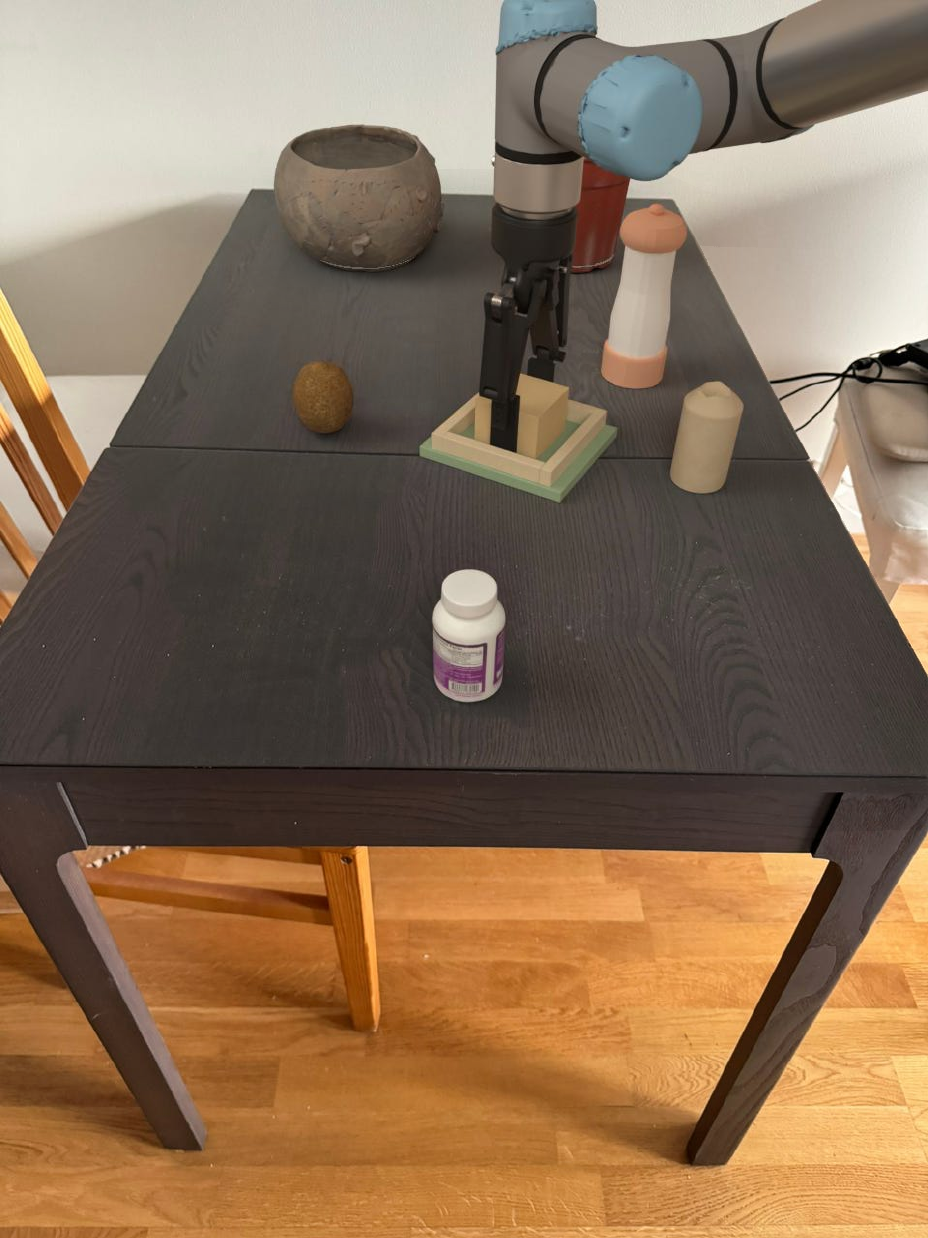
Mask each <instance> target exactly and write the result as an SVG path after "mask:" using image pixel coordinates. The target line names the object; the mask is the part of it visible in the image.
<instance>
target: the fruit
mask: <svg viewBox="0 0 928 1238" xmlns="http://www.w3.org/2000/svg"><path fill="white" fill-rule="evenodd" d="M350 382H351V381H350V379H349V377H348V375H347V374H346V372H345V370H344V369H342V368H341V367H340V366H339V365H337V363H335V362H332V361H327V360H317V361H312V362H310V363H309V362H308V363H307V364H305V365H304V366H303V367H302V368H301V369H300V371H299V372H298V374H297V376H296V378H295V381H294V383H293V387H292V401H293V405H294V409H295V411H296V414H297V417H298V419H299V420H300V421H301V423H302V424H303V425H304V426H305V427H306V428H307V429H308V430H310V431H312V432H314V433H318V434H324V435H325V434H326V435H327V434H332V433H335V432H338V431H340V430H341V429H342V428H343V427H345V426H346V425H347V423H348V421H349V419H350V418H351V415H352V411H353V407H354V401H355V400H354V399H355V398H354V392H353V391H354V390H353V387H352V384H351V383H350Z"/></svg>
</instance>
